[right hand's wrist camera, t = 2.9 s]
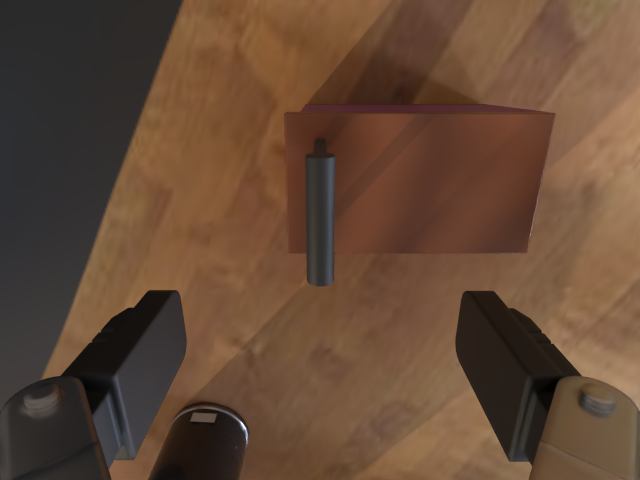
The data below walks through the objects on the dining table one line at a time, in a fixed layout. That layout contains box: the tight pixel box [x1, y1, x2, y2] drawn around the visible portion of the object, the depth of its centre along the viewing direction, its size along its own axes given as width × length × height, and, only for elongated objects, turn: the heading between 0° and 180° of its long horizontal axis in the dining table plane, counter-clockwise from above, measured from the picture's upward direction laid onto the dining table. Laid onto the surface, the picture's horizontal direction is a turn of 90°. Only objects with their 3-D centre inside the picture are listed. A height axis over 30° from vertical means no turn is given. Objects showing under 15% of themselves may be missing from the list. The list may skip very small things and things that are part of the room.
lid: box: [284, 112, 556, 286], centre depth 23 cm, size 16×9×9 cm, turn 90°
